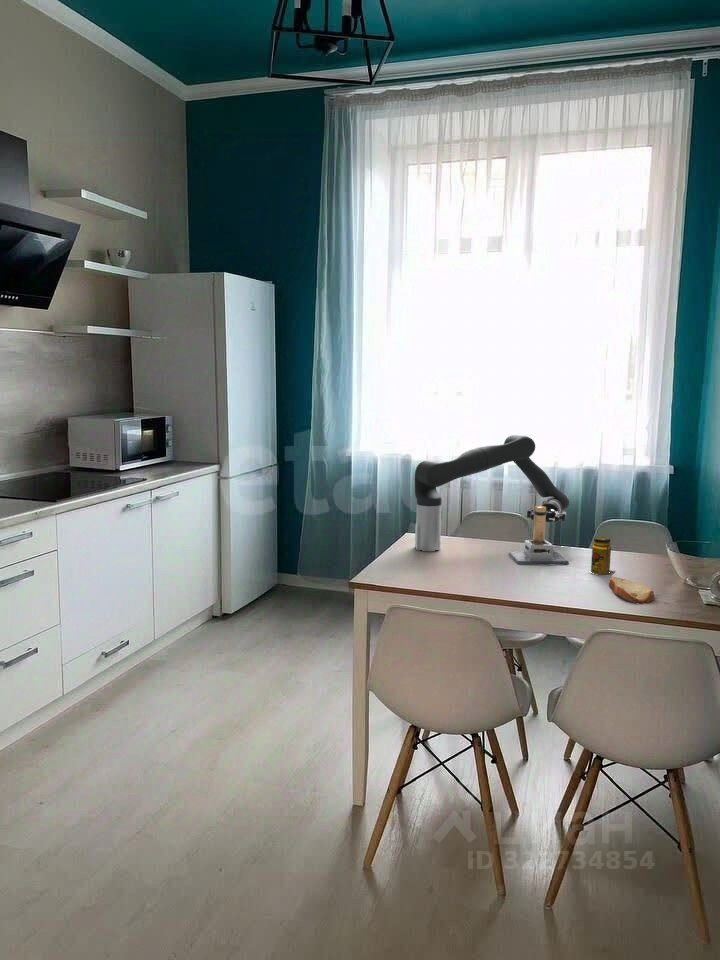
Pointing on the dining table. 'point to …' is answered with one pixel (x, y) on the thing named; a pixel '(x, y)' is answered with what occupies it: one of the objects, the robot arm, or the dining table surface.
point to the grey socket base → (538, 554)
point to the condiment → (601, 557)
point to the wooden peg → (539, 526)
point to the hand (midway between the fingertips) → (544, 518)
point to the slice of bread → (631, 590)
